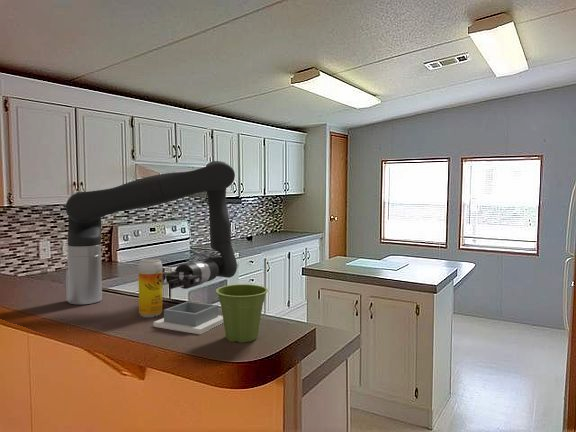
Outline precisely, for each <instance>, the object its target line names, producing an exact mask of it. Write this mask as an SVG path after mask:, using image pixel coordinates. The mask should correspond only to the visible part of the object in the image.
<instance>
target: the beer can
mask: <svg viewBox="0 0 576 432" xmlns="http://www.w3.org/2000/svg"><path fill="white" fill-rule="evenodd" d="M162 271H163V263H162V260H161V259H160V258H144V259H140V260H139V263H138V314H140V316H141V317H142V316H143V318H155V317H154V316H156V317H158V315H159V316H161V315H162V312H163V285H162Z"/></svg>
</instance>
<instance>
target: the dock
mask: <svg viewBox="0 0 576 432" xmlns="http://www.w3.org/2000/svg"><path fill="white" fill-rule="evenodd" d="M222 323H223V324H224V321H223V315H221V314H220V315H219V304H212V303H204V302H196V301H189V300H188V301H185V302H183V303H178V304H177V305H173V306H171V307H168V308H165V309H163V317H162V318H161V319H158V320H155V321H153V327H155V328H158V329H159V328H161V329H167V330H172V331H177V332H184V333H189V334H195V335H202V334H205V333H206V332H208V331H210V329H211V330H213V329H215V328H216V326H217V327H219V326H221V325H223V324H222ZM220 324H221V325H220ZM218 325H219V326H218ZM214 327H215V328H214ZM212 328H213V329H212Z"/></svg>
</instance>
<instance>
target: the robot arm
mask: <svg viewBox="0 0 576 432" xmlns="http://www.w3.org/2000/svg"><path fill="white" fill-rule="evenodd" d="M235 174H236V173H235V170H234V168H233V167H232V166H231V165H230V164H229V163H227V162H225V161H220V160H218V161H217V160H213V161H210V162H209V163H207V165H205V166H203V167H200V168H197V169H194V170H188V171H180V172H176V171H175V172H165V173H159V174H155V175H154V174H153V175H149V176H146V177H141V178H138V179H135V180H132V181H128V182H126V183H123V184H121V185H118V186H114V187H110V188H105V189H104V188H103V189H100V190H99V189H98V190H90V191H79V192H76V193H73V194H72V195H71V196H69V198H68V199H67V201H66V204H65V212H66V214H67V219H68V220H67V221H68V225H67V226H68V227H67V228H68V230H67V269H66V271H65V287H66V288H65V293H66V295H65V298H66V299H65V301H66V302H68V303H69V304H71V305H88V304H89V305H91V304H95V303H99V302H101V301H102V299H103V279H102V278H103V277H102V276H103V275H102V269H103V268H102V266H103V265H102V218H103V217H105V216H108V215H111V214H115V213H118V212H122V211H130V210H139V209H144V208H148V207H149V208H150V207H154V206H158V205H159V206H160V205H162V204H168V203H169V202H173V201H177V200H180V199H182V198H186V197H188V196H192V195H194V194H199V193H205V192H206V196H207V197H206V198H207V204H208V216H209V241H210V243H209V244H210V248H211V249H212V250H213V251H216V252H218V253H219V254H220V255H211V256H208V257H207V258H205V259H203V260H198V261H197V260H196V261H195V260H194V261H191V262H186V263H182V264H179V265H178V266H176V268H175V270H173V271H172V270H171V271H168V272H166V271H164V270H162V286H166V285H167V286H168V289H170V290H173V289H176V288H180V289H182V290H187V289H190V288H194V287H197V286H200V285H203V284H204V283H208V282H210V281H212V280H213V281H214V279H216V278H218V277H220V278H228V279H229V278H233V277H234V276H235V275H236V273H237V269H238V262H237V259H236V258H237V257H236V255H235V252H234V248H233V246H232V231H231V222H230V216H229V211H228V207H227V206H228V205H227V189H228V187H230V186H231V185H232V184H233V183H234V181H235V178H236V175H235ZM165 280H166V281H165Z"/></svg>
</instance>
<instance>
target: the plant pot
mask: <svg viewBox="0 0 576 432" xmlns="http://www.w3.org/2000/svg"><path fill="white" fill-rule="evenodd" d="M268 291H269V289H268V288H267V287H265V286H264V285H258V284H250V283H249V284H247V283H246V284H245V283H243V284H241V283H239V284H238V283H237V284H228V285H223V286H219V287H218V288H216V289H215V293H216V294H217V296H218V301H219V304H220V307H221V314H222V315H221V316H223V321H224V323H223V326H224V327H223V328H224V332H225V337H226V340H228V341H229V342H238V343H249V342H253V341H255V340H256V339H257V338H258V335H259V330H260V324H261V316H262V312H263V311H262V310H263V305H264V303H265V299H266V294H267V293H268Z"/></svg>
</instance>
